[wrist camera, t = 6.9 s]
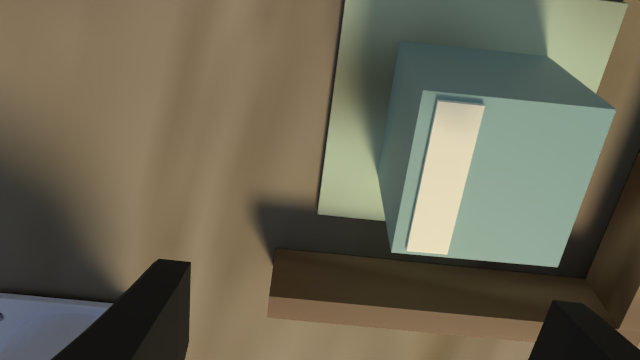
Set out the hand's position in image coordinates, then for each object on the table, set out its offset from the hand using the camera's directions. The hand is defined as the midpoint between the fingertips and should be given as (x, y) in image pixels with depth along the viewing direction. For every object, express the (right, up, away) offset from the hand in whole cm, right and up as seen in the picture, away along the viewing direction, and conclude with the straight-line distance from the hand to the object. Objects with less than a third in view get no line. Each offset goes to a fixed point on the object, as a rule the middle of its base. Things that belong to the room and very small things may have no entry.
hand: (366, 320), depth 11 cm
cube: (+4, +5, +9) cm, 11 cm away
